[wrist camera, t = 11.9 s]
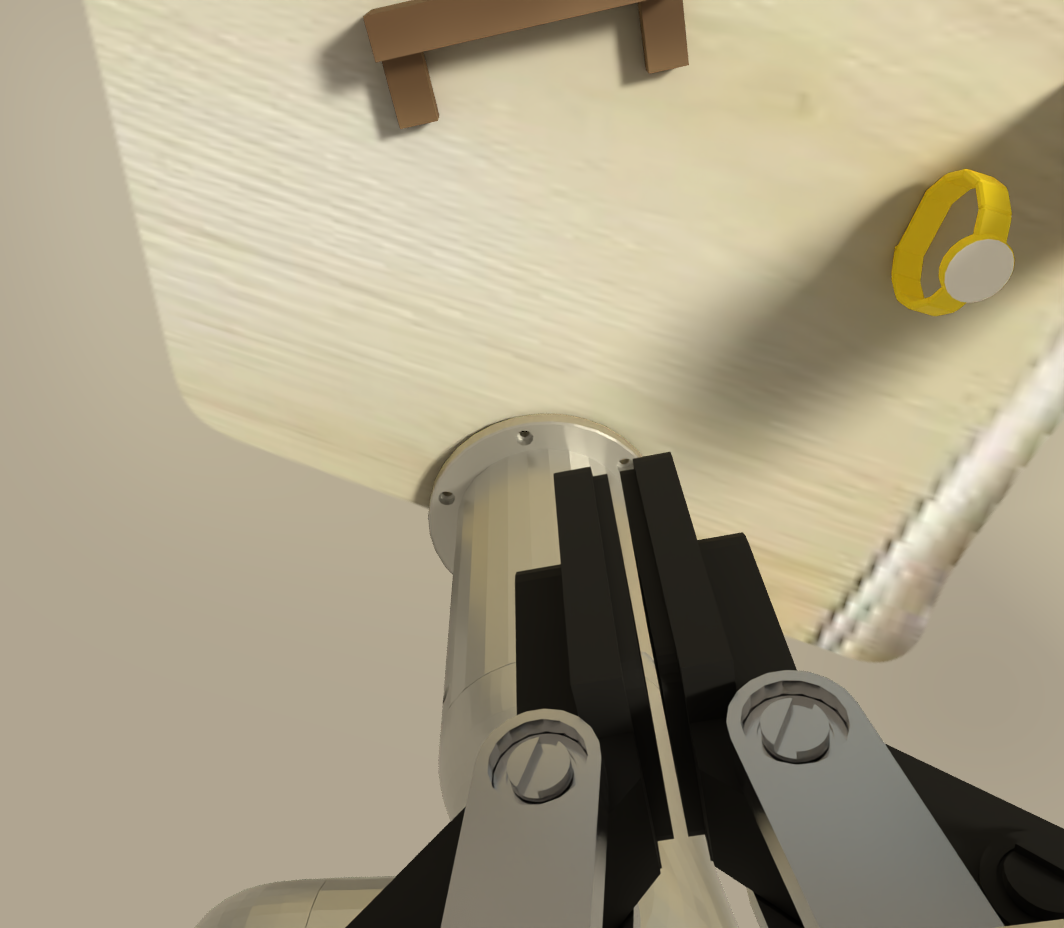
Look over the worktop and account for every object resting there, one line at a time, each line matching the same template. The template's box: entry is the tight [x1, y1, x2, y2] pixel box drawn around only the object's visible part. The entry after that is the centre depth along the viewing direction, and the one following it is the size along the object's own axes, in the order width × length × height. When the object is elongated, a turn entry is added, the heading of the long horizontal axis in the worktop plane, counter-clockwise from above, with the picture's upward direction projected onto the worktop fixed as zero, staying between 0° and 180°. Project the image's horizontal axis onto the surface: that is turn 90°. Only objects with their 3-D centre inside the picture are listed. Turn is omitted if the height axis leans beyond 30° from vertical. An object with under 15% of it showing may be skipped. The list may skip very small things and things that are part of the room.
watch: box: [891, 169, 1015, 316], centre depth 37 cm, size 6×3×6 cm, turn 164°
